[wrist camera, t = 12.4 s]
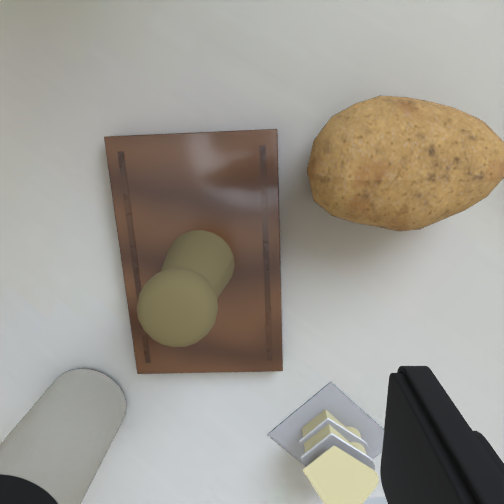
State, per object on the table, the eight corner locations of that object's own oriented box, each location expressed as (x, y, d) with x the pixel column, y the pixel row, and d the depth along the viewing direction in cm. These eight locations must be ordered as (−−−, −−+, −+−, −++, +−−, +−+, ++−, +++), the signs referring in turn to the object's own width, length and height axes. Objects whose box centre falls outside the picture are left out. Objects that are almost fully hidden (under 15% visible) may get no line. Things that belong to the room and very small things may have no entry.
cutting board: (110, 136, 33) (103, 136, 32) (276, 129, 33) (277, 129, 31) (142, 365, 40) (137, 374, 38) (282, 362, 39) (282, 371, 38)
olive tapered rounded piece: (165, 292, 36) (123, 357, 25) (167, 226, 34) (122, 268, 23) (232, 298, 36) (218, 366, 25) (237, 233, 34) (224, 277, 23)
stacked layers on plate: (267, 434, 41) (267, 478, 36) (330, 382, 39) (340, 420, 34) (332, 488, 43) (342, 537, 38) (396, 440, 41) (415, 485, 36)
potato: (463, 216, 34) (519, 240, 27) (300, 220, 35) (310, 245, 27) (477, 96, 32) (545, 84, 24) (300, 103, 32) (312, 93, 25)
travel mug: (37, 380, 40) (-133, 561, 23) (106, 356, 39) (-18, 529, 22) (73, 440, 42) (-58, 649, 25) (140, 420, 41) (50, 623, 24)
